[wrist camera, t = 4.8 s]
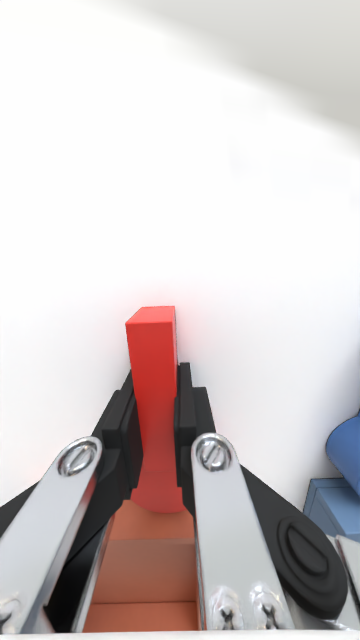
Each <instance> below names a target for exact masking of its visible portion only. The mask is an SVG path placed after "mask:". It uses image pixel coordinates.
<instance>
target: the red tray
mask: <svg viewBox="0 0 360 640" xmlns="http://www.w3.org/2000/svg"><path fill="white" fill-rule="evenodd" d="M152 631H201V622H200V609H199V596H198V582H197V569H196V556H195V542H194V529H193V516H192V515H191V514H190V513H189V511H188V510H185V511H181V512H176V513H158V512H153V511H149V510H146V509H144V508H142V507H140V506H138V505H137V504H135V503H134V502H133V501H132V500H131V499H130V500H123V505H122V506H121V507H120V508H119V509H118V510H117V511H116V513H115V519H114V523H113V527H112V530H111V534H110V537H109V541H108V544H107V548H106V551H105V555H104V558H103V562H102V566H101V569H100V573H99V576H98V580H97V583H96V587H95V590H94V594H93V597H92V601H91V604H90V608H89V611H88V615H87V618H86V622H85V625H84V629H83V632H82V633H104V632H152Z"/></svg>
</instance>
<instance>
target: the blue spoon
mask: <svg viewBox="0 0 360 640" xmlns="http://www.w3.org/2000/svg"><path fill="white" fill-rule="evenodd" d="M326 452H327V455H328V457H329V459H330V460H331V461H332V463H333V464H334V465H335V466H336V468H337V469H338V470H339V471H340V473H341V474H342V475H343V476H344V478H345V479H346V480H347V482H348V483H349V484H350V485H351V487H352V488H353V489H354V490H355V492H356V493H357V494H358V495H359V497H360V410H359V413H358V416H356V417H354V418H351V419H349V420H347V421H345V422H344V423H342V424H341V425H340V426H338V427H337V428H336V429H335V430H334V431H333V432H332V434H331V435H330V437H329V439H328V441H327V445H326Z"/></svg>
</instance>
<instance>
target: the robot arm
mask: <svg viewBox="0 0 360 640" xmlns="http://www.w3.org/2000/svg"><path fill="white" fill-rule="evenodd" d="M174 446H175V462H176V478H177V487H182V502H183V505H184V506H185V508H186V509H187V510H188V511H189V513H190V514H191V515H192V516H193V529H194V542H195V556H196V569H197V582H198V596H199V609H200V622H201V631H152V632H104V633H82V632H83V629H84V625H85V622H86V618H87V615H88V611H89V608H90V604H91V601H92V597H93V594H94V590H95V587H96V583H97V580H98V576H99V573H100V569H101V566H102V562H103V558H104V555H105V551H106V548H107V544H108V541H109V537H110V534H111V530H112V527H113V523H114V519H115V513H116V511H117V510H118V509H119V508H120V507H121V506H122V505H123V500H130V499H131V494H132V490H133V489H136V488H137V486H138V482H139V477H140V472H141V467H142V462H143V456H144V455H143V447H142V439H141V432H140V424H139V416H138V409H137V401H136V398H135V393H134V386H133V378H132V371H131V370H130V372H129V374H128V376H127V378H126V380H125V382H124V384H123V386H122V388H121V390H116V391H115V392H114V394H113V396H112V397H111V399H110V401H109V403H108V405H107V407H106V409H105V410H104V412H103V414H102V416H101V418H100V420H99V422H98V423H97V425H96V427H95V429H94V431H93V433H92V435H91V436H88V437H83V438H80V439H77V440H75V441H74V442H72V443H70V444H69V445H68V446H67V447H65V448H64V449H63V450H62V451H61V452H60V453H59V455H58V456H57V457H56V459H55V460H54V461H53V463H52V464H51V466H50V467H49V469H48V470H47V472H46V473H45V475H44V476H43V477H42V479H41V480H40V481H38V482H37V483H36V484H34V485H33V486H31V487H30V488H28V489H27V490H25V491H24V492H22V493H21V494H19V495H18V496H16V497H15V498H13V499H12V500H11V501H9V502H8V503H6V504H5V505H3V506H2V507H0V640H360V543H358V542H356V541H353V540H351V539H348V538H346V537H343V536H341V535H338V534H337V535H336V538H334V537H332V536H329V535H327V534H325V533H324V532H323V531H322V530H321V529H320V528H319V527H318V526H317V525H316V524H315V523H314V522H313V521H312V520H311V519H309V518H308V517H307V516H306V515H304V514H303V513H302V512H300V511H299V510H298V509H297V508H295V507H294V506H293V505H292V504H290V503H289V502H288V501H287V500H285V499H284V498H283V497H281V496H280V495H279V494H278V493H276V492H275V491H274V490H273V489H271V488H270V487H269V486H268V485H266V484H265V483H264V482H262V481H261V480H260V479H259V478H257V477H256V476H255V475H254V474H252V473H251V472H250V471H249V470H247V469H246V468H245V467H243V466H242V465H241V464H240V463H239V461H238V458H237V455H236V452H235V450H234V448H233V446H232V444H231V443H230V442H229V441H228V440H227V439H226V438H225V437H223V436H222V435H219V434H216V430H215V426H214V421H213V417H212V413H211V408H210V404H209V399H208V395H207V390H206V387H192V382H191V372H190V363H180V366H177V396H176V397H175V398H174Z"/></svg>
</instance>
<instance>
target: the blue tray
mask: <svg viewBox="0 0 360 640" xmlns="http://www.w3.org/2000/svg"><path fill="white" fill-rule="evenodd" d="M303 514H304V515H306V516H307V517H308V518H309V519H311V520H312V521H313V522H314V523H315V524H316V525H317V526H318V527H319V528H320V529H321V530H322V531H323V532H324V533H325V534H327V535H329V536H332V537H334V538H336V535H337V534H338V535H341V536H343V537H346V538H348V539H351V540H353V541H356V542H358V543H360V497H359V495H358V494H357V493H356V492H355V490H354V489H353V488H352V487H351V485H350V484H349V483H348V482H347V480H346V479H345V478H336V479H311V482H310V486H309V490H308V494H307V498H306V502H305V506H304V510H303Z"/></svg>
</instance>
